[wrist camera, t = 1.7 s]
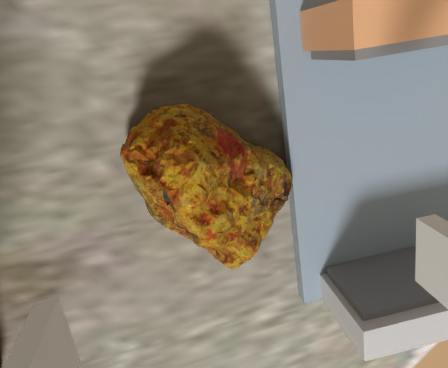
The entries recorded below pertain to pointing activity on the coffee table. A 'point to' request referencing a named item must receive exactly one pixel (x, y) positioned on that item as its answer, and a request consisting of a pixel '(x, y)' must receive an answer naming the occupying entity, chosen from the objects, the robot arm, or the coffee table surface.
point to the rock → (206, 180)
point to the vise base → (364, 182)
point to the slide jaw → (373, 28)
